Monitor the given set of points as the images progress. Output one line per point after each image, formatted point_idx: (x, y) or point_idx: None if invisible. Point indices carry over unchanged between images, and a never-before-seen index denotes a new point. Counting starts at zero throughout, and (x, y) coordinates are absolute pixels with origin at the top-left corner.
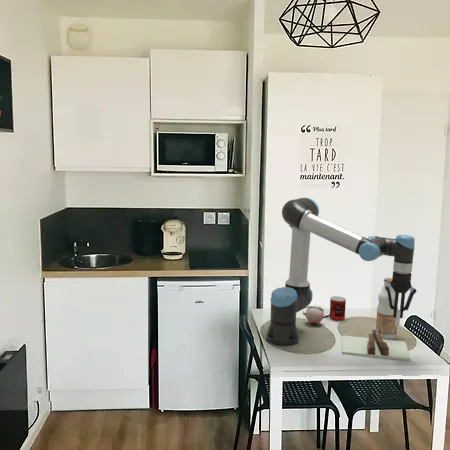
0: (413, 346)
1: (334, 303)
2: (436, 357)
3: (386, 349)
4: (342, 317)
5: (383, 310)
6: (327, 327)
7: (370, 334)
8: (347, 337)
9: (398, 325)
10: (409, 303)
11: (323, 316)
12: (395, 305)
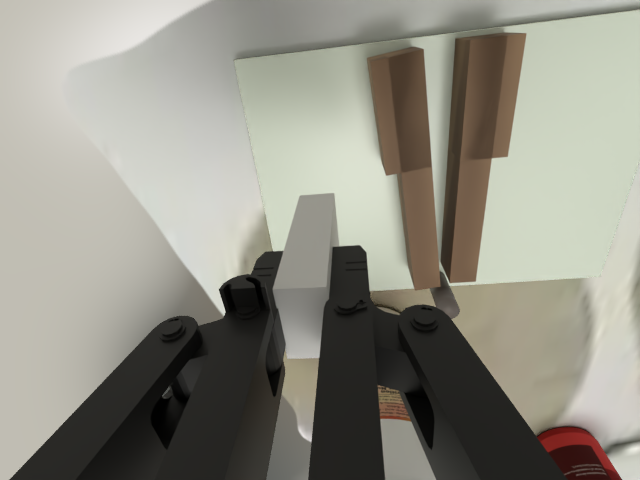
0: (244, 270)
1: None
2: (118, 171)
3: (387, 57)
4: (551, 445)
5: (419, 450)
6: (636, 360)
7: (468, 274)
8: (578, 259)
9: (305, 197)
10: (73, 429)
11: None
12: (358, 359)
